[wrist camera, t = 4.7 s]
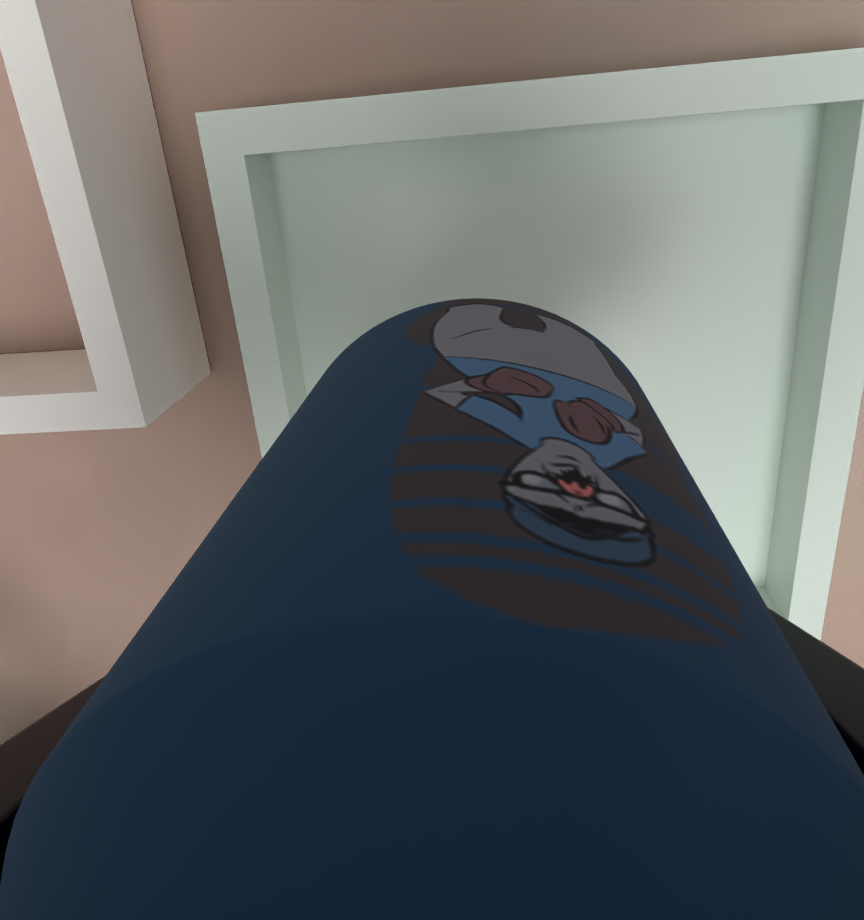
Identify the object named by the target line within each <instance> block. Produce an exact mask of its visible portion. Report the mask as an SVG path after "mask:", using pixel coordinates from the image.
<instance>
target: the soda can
mask: <svg viewBox="0 0 864 920" xmlns="http://www.w3.org/2000/svg"><path fill="white" fill-rule="evenodd" d="M0 920H864V775H863V773H862V771H861V769H860V768H859V766H858V764H857V762H856V761H855V759H854V757H853V756H852V754H851V752H850V750H849V749H848V747H847V745H846V743H845V742H844V740H843V738H842V736H841V735H840V733H839V731H838V729H837V728H836V726H835V724H834V722H833V721H832V719H831V717H830V715H829V714H828V712H827V710H826V709H825V707H824V705H823V703H822V702H821V700H820V698H819V696H818V695H817V693H816V691H815V689H814V688H813V686H812V684H811V682H810V681H809V679H808V677H807V675H806V674H805V672H804V670H803V668H802V667H801V665H800V663H799V661H798V660H797V658H796V656H795V655H794V653H793V651H792V649H791V648H790V646H789V644H788V642H787V641H786V639H785V637H784V635H783V634H782V632H781V630H780V628H779V627H778V625H777V623H776V621H775V620H774V618H773V616H772V614H771V613H770V611H769V609H768V608H767V606H766V604H765V602H764V601H763V599H762V597H761V595H760V594H759V592H758V590H757V588H756V587H755V585H754V583H753V581H752V580H751V578H750V576H749V574H748V573H747V571H746V569H745V567H744V566H743V564H742V562H741V560H740V559H739V557H738V555H737V554H736V552H735V550H734V548H733V547H732V545H731V543H730V541H729V540H728V538H727V536H726V534H725V533H724V531H723V529H722V527H721V526H720V524H719V522H718V520H717V519H716V517H715V515H714V513H713V512H712V510H711V508H710V507H709V505H708V503H707V501H706V500H705V498H704V496H703V494H702V493H701V491H700V489H699V487H698V486H697V484H696V482H695V480H694V479H693V477H692V475H691V473H690V472H689V470H688V468H687V466H686V465H685V463H684V461H683V459H682V458H681V456H680V454H679V453H678V451H677V449H676V447H675V446H674V444H673V442H672V440H671V439H670V437H669V435H668V433H667V432H666V430H665V428H664V426H663V425H662V423H661V421H660V419H659V418H658V416H657V414H656V412H655V411H654V409H653V407H652V405H651V404H650V402H649V400H648V399H647V397H646V395H645V393H644V392H643V390H642V388H641V387H640V385H639V383H638V382H637V380H636V379H635V377H634V376H633V375H632V373H631V372H630V370H629V369H628V368H627V367H626V366H625V364H624V363H623V362H622V361H621V360H620V359H619V358H618V357H617V356H616V355H615V354H614V353H613V352H612V351H611V350H610V349H609V348H608V347H607V346H606V345H604V344H603V343H602V342H601V341H600V340H598V339H597V338H596V337H594V336H593V335H592V334H590V333H589V332H587V331H586V330H584V329H583V328H581V327H579V326H578V325H576V324H574V323H572V322H571V321H569V320H567V319H565V318H562V317H560V316H558V315H556V314H554V313H551V312H548V311H546V310H543V309H540V308H537V307H533V306H530V305H527V304H522V303H517V302H512V301H506V300H498V299H483V298H471V299H456V300H447V301H442V302H436V303H431V304H427V305H424V306H420V307H417V308H414V309H411V310H408V311H406V312H403V313H400V314H398V315H396V316H394V317H392V318H389V319H387V320H385V321H384V322H382V323H380V324H378V325H377V326H375V327H373V328H372V329H370V330H369V331H367V332H366V333H364V334H363V335H361V336H360V337H359V338H357V339H356V340H355V341H354V342H353V343H351V344H350V345H349V346H348V347H347V348H346V349H345V350H344V351H343V352H342V353H341V354H340V355H339V356H338V357H337V358H336V359H335V360H334V361H333V362H332V364H331V365H330V366H329V367H328V368H327V370H326V371H325V373H324V374H323V375H322V377H321V378H320V379H319V381H318V382H317V384H316V385H315V386H314V388H313V389H312V390H311V392H310V393H309V395H308V396H307V397H306V399H305V400H304V402H303V403H302V404H301V406H300V407H299V409H298V410H297V411H296V413H295V414H294V415H293V417H292V418H291V420H290V421H289V422H288V424H287V425H286V427H285V428H284V429H283V431H282V432H281V434H280V435H279V436H278V438H277V439H276V440H275V442H274V443H273V445H272V446H271V447H270V449H269V450H268V452H267V453H266V454H265V456H264V457H263V459H262V460H261V461H260V463H259V464H258V465H257V467H256V468H255V470H254V471H253V472H252V474H251V475H250V477H249V478H248V479H247V481H246V482H245V483H244V485H243V486H242V488H241V489H240V490H239V492H238V493H237V495H236V496H235V497H234V499H233V500H232V502H231V503H230V504H229V506H228V507H227V508H226V510H225V511H224V513H223V514H222V515H221V517H220V518H219V520H218V521H217V522H216V524H215V525H214V527H213V528H212V529H211V531H210V532H209V533H208V535H207V536H206V538H205V539H204V540H203V542H202V543H201V545H200V546H199V547H198V549H197V550H196V552H195V553H194V554H193V556H192V557H191V558H190V560H189V561H188V563H187V564H186V565H185V567H184V568H183V570H182V571H181V572H180V574H179V575H178V577H177V578H176V579H175V581H174V582H173V583H172V585H171V586H170V588H169V589H168V590H167V592H166V593H165V595H164V596H163V597H162V599H161V600H160V602H159V603H158V604H157V606H156V607H155V608H154V610H153V611H152V613H151V614H150V615H149V617H148V618H147V620H146V621H145V622H144V624H143V625H142V627H141V628H140V629H139V631H138V632H137V633H136V635H135V636H134V638H133V639H132V640H131V642H130V643H129V645H128V646H127V647H126V649H125V650H124V652H123V653H122V654H121V656H120V657H119V658H118V660H117V661H116V663H115V664H114V665H113V667H112V668H111V670H110V671H109V672H108V674H107V675H106V677H105V678H104V679H103V681H102V682H101V683H100V685H99V686H98V688H97V689H96V690H95V692H94V693H93V695H92V696H91V697H90V699H89V700H88V702H87V703H86V704H85V706H84V707H83V708H82V710H81V711H80V713H79V714H78V715H77V717H76V718H75V720H74V721H73V722H72V724H71V725H70V727H69V728H68V729H67V731H66V732H65V733H64V735H63V736H62V738H61V739H60V740H59V742H58V743H57V745H56V746H55V747H54V749H53V750H52V752H51V753H50V754H49V756H48V757H47V758H46V760H45V761H44V763H43V764H42V765H41V767H40V768H39V770H38V771H37V773H36V775H35V777H34V778H33V780H32V782H31V784H30V785H29V787H28V789H27V791H26V792H25V795H24V797H23V800H22V802H21V804H20V807H19V809H18V812H17V814H16V816H15V819H14V822H13V826H12V830H11V833H10V837H9V840H8V844H7V848H6V853H5V859H4V864H3V870H2V877H1V884H0Z"/></svg>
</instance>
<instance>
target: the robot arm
mask: <svg viewBox="0 0 864 920" xmlns="http://www.w3.org/2000/svg"><path fill="white" fill-rule="evenodd" d="M768 609H769V608H768ZM769 611H770V613H771V614H772V616H773V618H774V620H775V621H776V623H777V625H778V627H779V628H780V630H781V632H782V634H783V635H784V637H785V639H786V641H787V642H788V644H789V646H790V648H791V649H792V651H793V653H794V655H795V656H796V658H797V660H798V661H799V663H800V665H801V667H802V668H803V670H804V672H805V674H806V675H807V677H808V679H809V681H810V682H811V684H812V686H813V688H814V689H815V691H816V693H817V695H818V696H819V698H820V700H821V702H822V703H823V705H824V707H825V709H826V710H827V712H828V714H829V715H830V717H831V719H832V721H833V722H834V724H835V726H836V728H837V729H838V731H839V733H840V735H841V736H842V738H843V740H844V742H845V743H846V745H847V747H848V749H849V750H850V752H851V754H852V756H853V757H854V759H855V761H856V762H857V764H858V766H859V768H860V769H861V771H862V773H863V775H864V668H862V667H861V666H859V665H857V664H856V663H854V662H853V661H851V660H850V659H848V658H846V657H845V656H843V655H842V654H840V653H839V652H837V651H836V650H834V649H832V648H831V647H829V646H828V645H826V644H825V643H823V642H822V641H820V640H818V639H817V638H815V637H814V636H812V635H811V634H809V633H807V632H806V631H804V630H803V629H801V628H800V627H798V626H797V625H795V624H793V623H792V622H790V621H789V620H787V619H786V618H784V617H783V616H781V615H779V614H778V613H776V612H775V611H773V610H771V609H769ZM105 677H106V676H104V677H103V678H101V679H100V680H98V681H97V682H95V683H94V684H92V685H91V686H89V687H88V688H86V689H85V690H83V691H82V692H80V693H79V694H77V695H76V696H74V697H73V698H71V699H69V700H68V701H66V702H65V703H63V704H62V705H60V706H59V707H57V708H56V709H54V710H53V711H51V712H50V713H48V714H47V715H45V716H44V717H42V718H41V719H39V720H38V721H36V722H35V723H33V724H32V725H30V726H29V727H27V728H26V729H24V730H23V731H21V732H20V733H18V734H17V735H15V736H13V737H12V738H10V739H9V740H7V741H6V742H4V743H3V744H1V745H0V884H1V877H2V870H3V864H4V859H5V853H6V848H7V844H8V840H9V837H10V833H11V830H12V826H13V822H14V819H15V816H16V814H17V812H18V809H19V807H20V804H21V802H22V800H23V797H24V795H25V792H26V791H27V789H28V787H29V785H30V784H31V782H32V780H33V778H34V777H35V775H36V773H37V771H38V770H39V768H40V767H41V765H42V764H43V763H44V761H45V760H46V758H47V757H48V756H49V754H50V753H51V752H52V750H53V749H54V747H55V746H56V745H57V743H58V742H59V740H60V739H61V738H62V736H63V735H64V733H65V732H66V731H67V729H68V728H69V727H70V725H71V724H72V722H73V721H74V720H75V718H76V717H77V715H78V714H79V713H80V711H81V710H82V708H83V707H84V706H85V704H86V703H87V702H88V700H89V699H90V697H91V696H92V695H93V693H94V692H95V690H96V689H97V688H98V686H99V685H100V683H101V682H102V681H103V679H104V678H105Z"/></svg>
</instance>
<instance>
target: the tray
mask: <svg viewBox="0 0 864 920" xmlns="http://www.w3.org/2000/svg"><path fill="white" fill-rule="evenodd" d="M195 117H196V122H197V127H198V133H199V138H200V143H201V148H202V153H203V158H204V163H205V169H206V174H207V179H208V184H209V189H210V194H211V199H212V204H213V210H214V215H215V220H216V225H217V230H218V235H219V240H220V246H221V251H222V256H223V261H224V266H225V271H226V276H227V282H228V287H229V292H230V297H231V302H232V307H233V312H234V318H235V323H236V328H237V333H238V338H239V343H240V348H241V354H242V359H243V364H244V369H245V374H246V379H247V384H248V390H249V395H250V400H251V405H252V410H253V415H254V420H255V426H256V431H257V436H258V441H259V446H260V451H261V456H262V459H263V457H264V456H265V454H266V453H267V452H268V450H269V449H270V447H271V446H272V445H273V443H274V442H275V440H276V439H277V438H278V436H279V435H280V434H281V432H282V431H283V429H284V428H285V427H286V425H287V424H288V422H289V421H290V420H291V418H292V417H293V415H294V414H295V413H296V411H297V410H298V409H299V407H300V406H301V404H302V403H303V402H304V400H305V399H306V397H307V396H308V395H309V393H310V392H311V390H312V389H313V388H314V386H315V385H316V384H317V382H318V381H319V379H320V378H321V377H322V375H323V374H324V373H325V371H326V370H327V368H328V367H329V366H330V365H331V364H332V362H333V361H334V360H335V359H336V358H337V357H338V356H339V355H340V354H341V353H342V352H343V351H344V350H345V349H346V348H347V347H348V346H349V345H350V344H351V343H353V342H354V341H355V340H356V339H357V338H359V337H360V336H361V335H363V334H364V333H366V332H367V331H369V330H370V329H372V328H373V327H375V326H377V325H378V324H380V323H382V322H384V321H385V320H387V319H389V318H392V317H394V316H396V315H398V314H400V313H403V312H406V311H408V310H411V309H414V308H417V307H420V306H424V305H427V304H431V303H436V302H442V301H447V300H456V299H471V298H483V299H498V300H506V301H512V302H517V303H522V304H527V305H530V306H533V307H537V308H540V309H543V310H546V311H548V312H551V313H554V314H556V315H558V316H560V317H562V318H565V319H567V320H569V321H571V322H572V323H574V324H576V325H578V326H579V327H581V328H583V329H584V330H586V331H587V332H589V333H590V334H592V335H593V336H594V337H596V338H597V339H598V340H600V341H601V342H602V343H603V344H604V345H606V346H607V347H608V348H609V349H610V350H611V351H612V352H613V353H614V354H615V355H616V356H617V357H618V358H619V359H620V360H621V361H622V362H623V363H624V364H625V366H626V367H627V368H628V369H629V370H630V372H631V373H632V375H633V376H634V377H635V379H636V380H637V382H638V383H639V385H640V387H641V388H642V390H643V392H644V393H645V395H646V397H647V399H648V400H649V402H650V404H651V405H652V407H653V409H654V411H655V412H656V414H657V416H658V418H659V419H660V421H661V423H662V425H663V426H664V428H665V430H666V432H667V433H668V435H669V437H670V439H671V440H672V442H673V444H674V446H675V447H676V449H677V451H678V453H679V454H680V456H681V458H682V459H683V461H684V463H685V465H686V466H687V468H688V470H689V472H690V473H691V475H692V477H693V479H694V480H695V482H696V484H697V486H698V487H699V489H700V491H701V493H702V494H703V496H704V498H705V500H706V501H707V503H708V505H709V507H710V508H711V510H712V512H713V513H714V515H715V517H716V519H717V520H718V522H719V524H720V526H721V527H722V529H723V531H724V533H725V534H726V536H727V538H728V540H729V541H730V543H731V545H732V547H733V548H734V550H735V552H736V554H737V555H738V557H739V559H740V560H741V562H742V564H743V566H744V567H745V569H746V571H747V573H748V574H749V576H750V578H751V580H752V581H753V583H754V585H755V587H756V588H757V590H758V592H759V594H760V595H761V597H762V599H763V601H764V602H765V604H766V606H767V608H769V609H771V610H773V611H775V612H776V613H778V614H779V615H781V616H783V617H784V618H786V619H787V620H789V621H790V622H792V623H793V624H795V625H797V626H798V627H800V628H801V629H803V630H804V631H806V632H807V633H809V634H811V635H812V636H814V637H815V638H817V639H818V640H820V639H821V633H822V627H823V622H824V616H825V610H826V604H827V598H828V592H829V586H830V580H831V574H832V569H833V563H834V557H835V551H836V545H837V539H838V533H839V527H840V521H841V516H842V510H843V504H844V498H845V492H846V486H847V480H848V474H849V468H850V463H851V457H852V451H853V445H854V439H855V433H856V427H857V421H858V415H859V410H860V404H861V398H862V392H863V386H864V47H863V48H853V49H843V50H833V51H822V52H812V53H802V54H792V55H781V56H771V57H761V58H750V59H740V60H730V61H720V62H709V63H699V64H689V65H679V66H668V67H658V68H648V69H638V70H627V71H617V72H607V73H596V74H586V75H576V76H566V77H555V78H545V79H535V80H525V81H514V82H504V83H494V84H484V85H473V86H463V87H453V88H442V89H432V90H422V91H412V92H401V93H391V94H381V95H371V96H360V97H350V98H340V99H330V100H319V101H309V102H299V103H288V104H278V105H268V106H258V107H247V108H237V109H227V110H217V111H206V112H196V113H195Z"/></svg>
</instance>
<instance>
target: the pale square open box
mask: <svg viewBox="0 0 864 920" xmlns="http://www.w3.org/2000/svg"><path fill="white" fill-rule="evenodd" d="M0 49H1V53H2V56H3V60H4V63H5V67H6V70H7V74H8V77H9V81H10V84H11V88H12V92H13V95H14V99H15V102H16V106H17V109H18V113H19V116H20V120H21V123H22V127H23V130H24V134H25V137H26V141H27V144H28V148H29V151H30V155H31V158H32V162H33V165H34V169H35V172H36V176H37V179H38V183H39V187H40V190H41V194H42V197H43V201H44V204H45V208H46V211H47V215H48V218H49V222H50V225H51V229H52V232H53V236H54V239H55V243H56V246H57V250H58V253H59V257H60V260H61V264H62V267H63V271H64V274H65V278H66V282H67V285H68V289H69V292H70V296H71V299H72V303H73V306H74V310H75V313H76V317H77V320H78V324H79V327H80V331H81V334H82V338H83V341H84V345H85V348H86V349H79V350H63V351H47V352H30V353H14V354H0V435H2V434H22V433H43V432H63V431H83V430H103V429H123V428H143V427H147V426H149V425H150V424H151V423H152V422H153V421H155V420H156V419H157V418H158V417H159V416H161V415H162V414H163V413H164V412H165V411H167V410H168V409H169V408H170V407H171V406H173V405H174V404H175V403H176V402H177V401H179V400H180V399H181V398H182V397H183V396H185V395H186V394H187V393H188V392H189V391H191V390H192V389H193V388H194V387H195V386H197V385H198V384H199V383H200V382H201V381H203V380H204V379H205V378H206V377H207V376H209V375H210V374H211V371H210V367H209V362H208V357H207V353H206V348H205V343H204V339H203V334H202V329H201V325H200V320H199V315H198V311H197V306H196V301H195V297H194V292H193V287H192V283H191V278H190V273H189V269H188V264H187V259H186V255H185V250H184V245H183V241H182V236H181V231H180V227H179V222H178V218H177V213H176V208H175V204H174V199H173V194H172V190H171V185H170V180H169V176H168V171H167V166H166V162H165V157H164V152H163V148H162V143H161V138H160V134H159V129H158V124H157V120H156V115H155V110H154V106H153V101H152V96H151V92H150V87H149V82H148V78H147V73H146V68H145V64H144V59H143V54H142V50H141V45H140V41H139V36H138V31H137V27H136V22H135V17H134V13H133V8H132V3H131V0H0Z"/></svg>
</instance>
